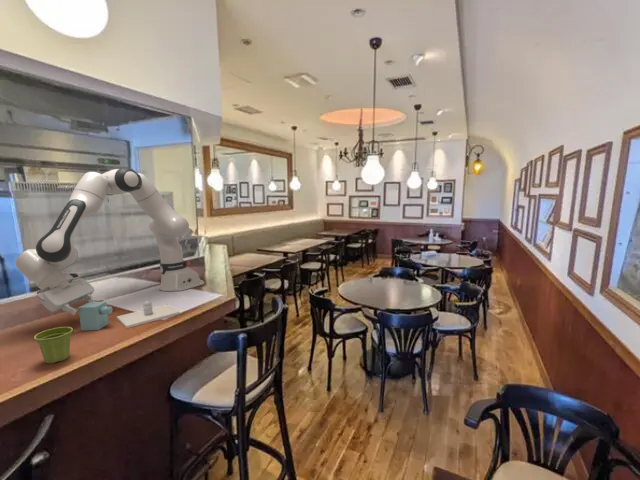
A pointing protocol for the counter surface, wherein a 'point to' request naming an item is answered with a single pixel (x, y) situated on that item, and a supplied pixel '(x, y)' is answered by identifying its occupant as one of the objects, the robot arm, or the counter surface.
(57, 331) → the plant pot
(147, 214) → the robot arm
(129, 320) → the board
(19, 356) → the counter surface
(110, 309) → the light blue pegged cube
